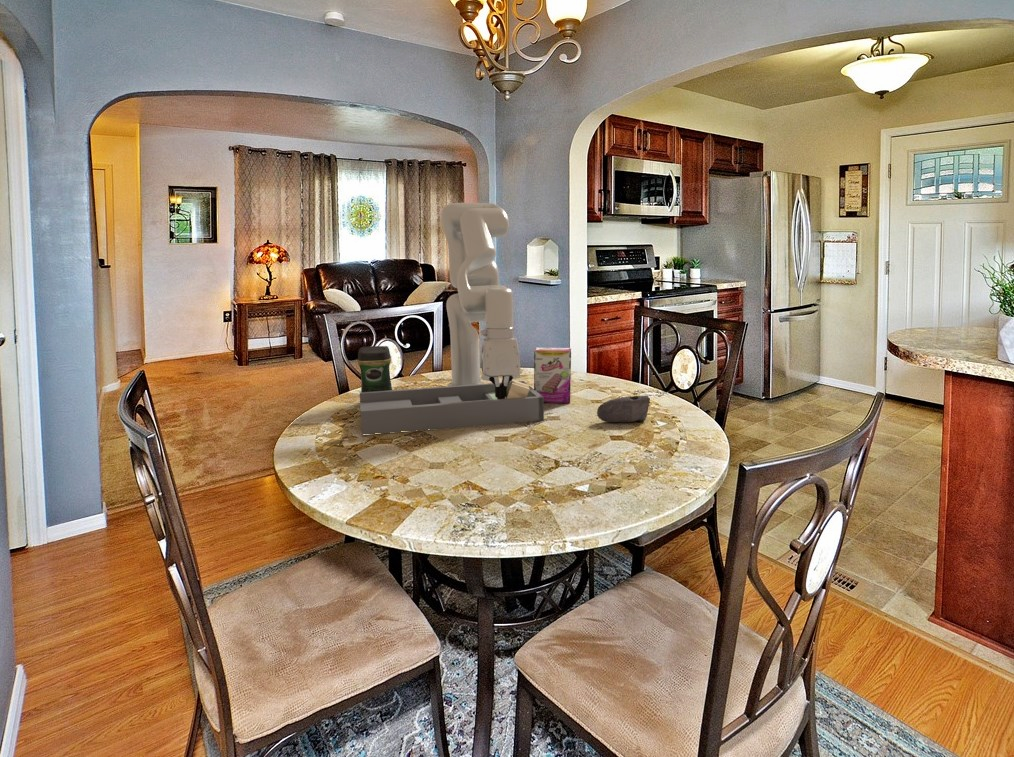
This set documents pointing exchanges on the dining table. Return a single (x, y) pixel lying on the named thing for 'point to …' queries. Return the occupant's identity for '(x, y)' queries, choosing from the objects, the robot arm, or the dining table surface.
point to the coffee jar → (374, 368)
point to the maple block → (517, 390)
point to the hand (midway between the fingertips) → (501, 399)
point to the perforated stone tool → (624, 409)
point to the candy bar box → (553, 374)
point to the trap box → (445, 408)
